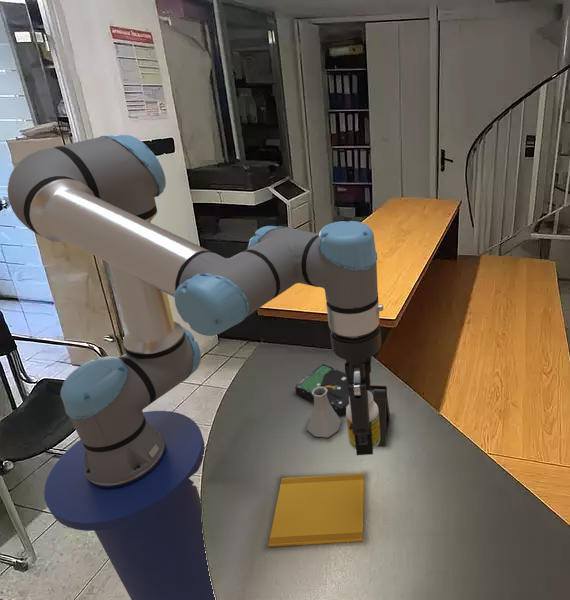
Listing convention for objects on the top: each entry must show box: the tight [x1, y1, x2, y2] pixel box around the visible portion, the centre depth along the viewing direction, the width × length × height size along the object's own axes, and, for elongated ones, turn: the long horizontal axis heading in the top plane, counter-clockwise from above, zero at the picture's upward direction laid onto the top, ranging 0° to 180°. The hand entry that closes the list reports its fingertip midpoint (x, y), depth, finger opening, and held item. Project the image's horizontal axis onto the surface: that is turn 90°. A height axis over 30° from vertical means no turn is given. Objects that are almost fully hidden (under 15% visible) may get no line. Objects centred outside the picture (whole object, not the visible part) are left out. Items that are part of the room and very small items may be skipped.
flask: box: [306, 387, 342, 438], centre depth 104 cm, size 7×7×10 cm
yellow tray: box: [268, 473, 365, 548], centre depth 88 cm, size 16×14×1 cm
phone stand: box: [370, 384, 391, 447], centre depth 102 cm, size 9×6×12 cm, turn 174°
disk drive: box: [295, 363, 354, 416], centre depth 116 cm, size 10×3×15 cm
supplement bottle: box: [345, 391, 380, 450], centre depth 81 cm, size 5×5×10 cm
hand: (365, 439), depth 83 cm, fingers closed on supplement bottle, 5 cm apart
